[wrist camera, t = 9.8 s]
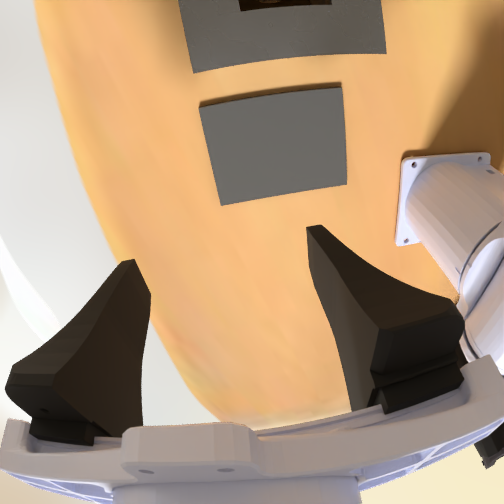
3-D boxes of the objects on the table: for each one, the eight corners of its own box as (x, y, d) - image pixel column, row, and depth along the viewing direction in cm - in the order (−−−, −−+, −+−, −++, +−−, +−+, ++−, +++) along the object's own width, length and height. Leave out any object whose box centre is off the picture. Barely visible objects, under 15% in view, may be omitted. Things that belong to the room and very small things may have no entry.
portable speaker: (420, 354, 38) (469, 478, 23) (437, 309, 33) (508, 454, 17) (467, 338, 38) (520, 448, 23) (488, 293, 33) (561, 416, 17)
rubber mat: (339, 86, 18) (341, 87, 18) (345, 182, 22) (346, 184, 22) (198, 107, 18) (198, 108, 18) (221, 203, 23) (221, 205, 22)
